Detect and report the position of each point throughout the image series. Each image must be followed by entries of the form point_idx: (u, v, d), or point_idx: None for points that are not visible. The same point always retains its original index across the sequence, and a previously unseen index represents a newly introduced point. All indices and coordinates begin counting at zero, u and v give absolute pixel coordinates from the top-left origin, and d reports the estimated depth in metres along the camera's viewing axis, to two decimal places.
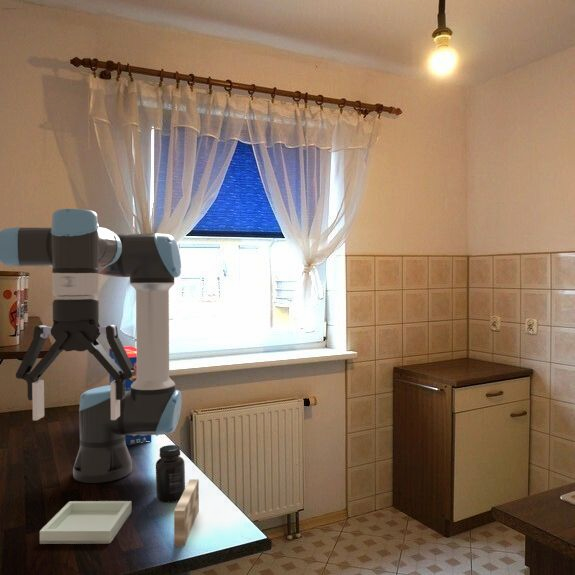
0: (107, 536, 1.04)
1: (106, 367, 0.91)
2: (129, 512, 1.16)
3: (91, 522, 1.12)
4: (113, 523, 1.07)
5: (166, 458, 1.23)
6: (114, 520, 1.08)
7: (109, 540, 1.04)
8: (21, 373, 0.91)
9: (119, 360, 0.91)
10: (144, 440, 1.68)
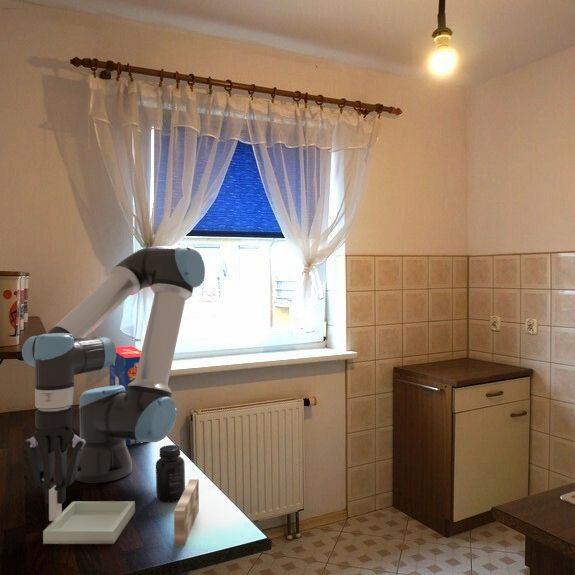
0: (110, 536, 1.04)
1: (57, 473, 1.09)
2: (132, 512, 1.16)
3: (94, 522, 1.11)
4: (116, 523, 1.07)
5: (166, 458, 1.23)
6: (117, 520, 1.08)
7: (112, 540, 1.04)
8: (38, 480, 1.09)
9: (69, 469, 1.09)
10: None
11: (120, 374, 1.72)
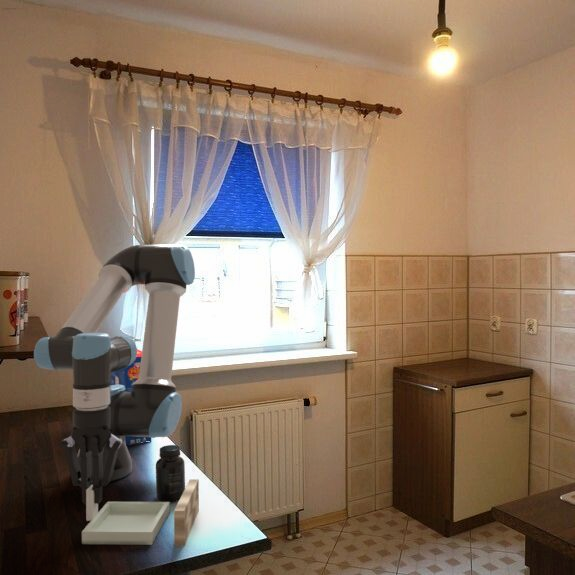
0: (149, 537, 1.03)
1: (94, 473, 1.09)
2: (168, 513, 1.16)
3: (131, 523, 1.11)
4: (154, 524, 1.06)
5: (166, 458, 1.23)
6: (155, 521, 1.08)
7: (151, 541, 1.03)
8: (75, 480, 1.09)
9: (106, 469, 1.09)
10: (144, 440, 1.68)
11: (120, 374, 1.72)
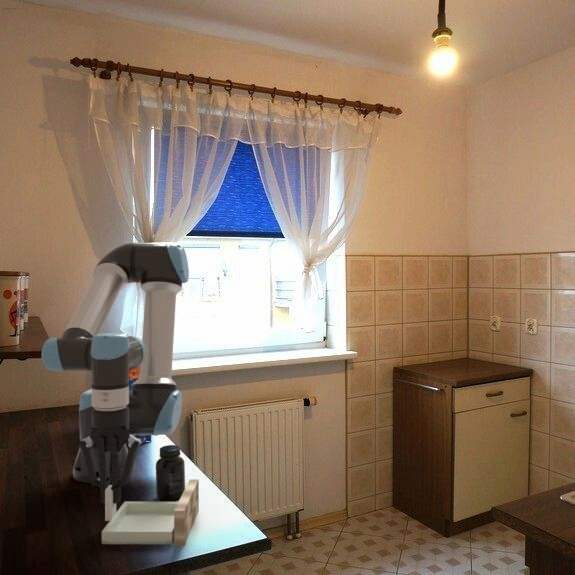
0: (169, 537, 1.03)
1: (113, 473, 1.09)
2: None
3: (149, 523, 1.11)
4: (173, 524, 1.07)
5: (166, 458, 1.23)
6: None
7: (171, 541, 1.03)
8: (94, 480, 1.09)
9: (125, 469, 1.09)
10: (144, 440, 1.68)
11: None
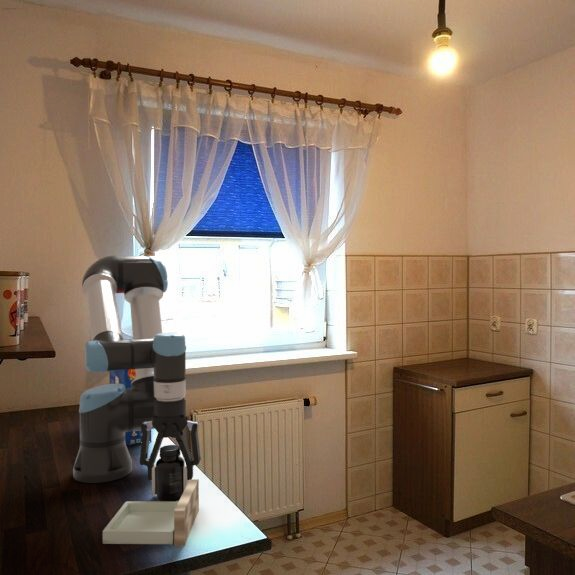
0: (170, 537, 1.03)
1: (183, 454, 1.24)
2: None
3: (150, 522, 1.11)
4: None
5: (166, 458, 1.23)
6: None
7: (172, 541, 1.03)
8: (143, 460, 1.24)
9: (193, 450, 1.24)
10: None
11: (120, 374, 1.72)
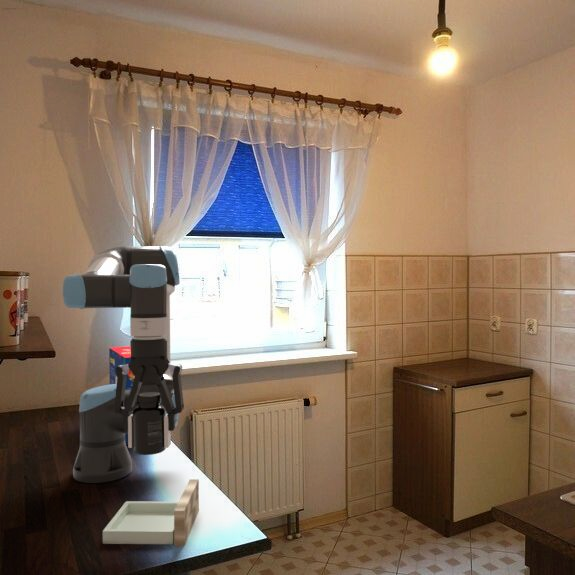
0: (170, 537, 1.03)
1: (164, 401, 1.09)
2: None
3: (150, 522, 1.11)
4: None
5: (145, 405, 1.08)
6: None
7: (172, 541, 1.03)
8: (118, 408, 1.09)
9: (176, 396, 1.09)
10: None
11: None
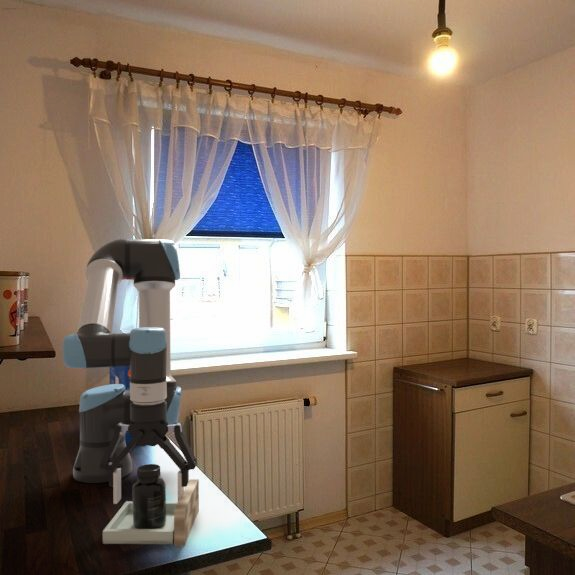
0: (170, 537, 1.03)
1: (174, 460, 1.09)
2: None
3: None
4: None
5: (144, 480, 1.08)
6: None
7: (172, 541, 1.03)
8: (104, 464, 1.09)
9: (185, 454, 1.09)
10: None
11: (120, 374, 1.72)
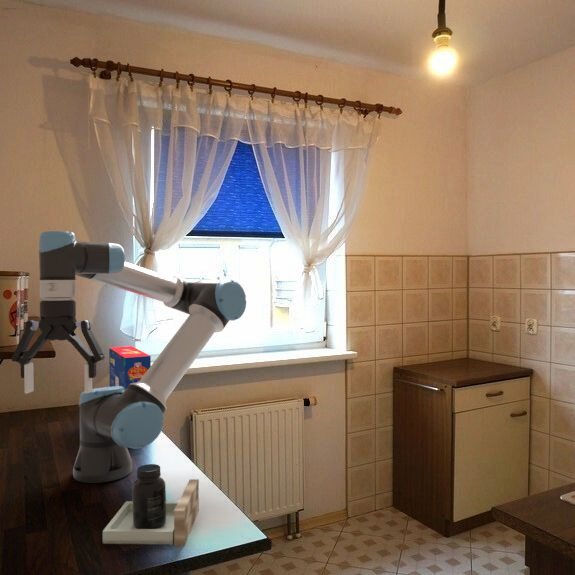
0: (170, 537, 1.03)
1: (81, 353, 1.18)
2: None
3: None
4: None
5: (144, 480, 1.08)
6: None
7: (172, 541, 1.03)
8: (15, 357, 1.18)
9: (91, 347, 1.18)
10: None
11: (120, 374, 1.72)
